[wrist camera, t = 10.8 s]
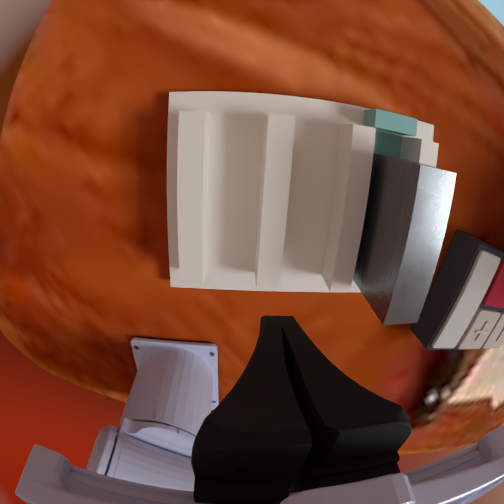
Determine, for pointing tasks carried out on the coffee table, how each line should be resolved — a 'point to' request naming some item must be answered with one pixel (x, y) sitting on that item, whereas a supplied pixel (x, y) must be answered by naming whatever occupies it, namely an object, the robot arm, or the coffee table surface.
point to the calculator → (465, 298)
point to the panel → (402, 236)
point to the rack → (275, 187)
